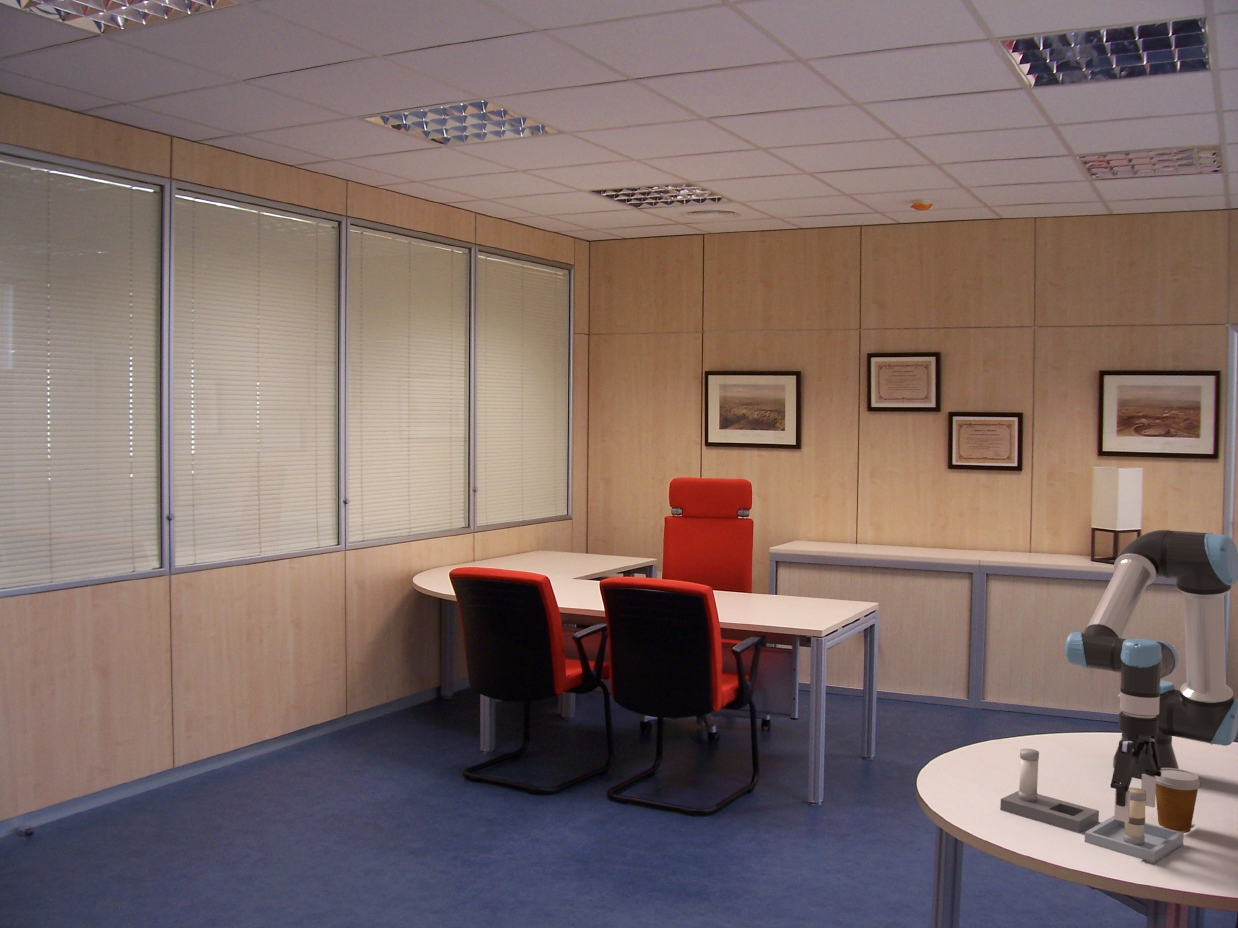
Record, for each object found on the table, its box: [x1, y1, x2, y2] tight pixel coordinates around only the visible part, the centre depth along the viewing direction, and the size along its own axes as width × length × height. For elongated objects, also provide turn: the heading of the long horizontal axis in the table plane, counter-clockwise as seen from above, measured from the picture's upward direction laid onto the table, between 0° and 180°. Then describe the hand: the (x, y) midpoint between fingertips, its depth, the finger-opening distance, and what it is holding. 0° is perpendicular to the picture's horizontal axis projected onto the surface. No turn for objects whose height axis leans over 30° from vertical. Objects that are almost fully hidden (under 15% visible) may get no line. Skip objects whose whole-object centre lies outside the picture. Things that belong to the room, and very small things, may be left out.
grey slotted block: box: [999, 748, 1100, 834], centre depth 243 cm, size 10×18×14 cm, turn 43°
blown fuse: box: [1124, 786, 1146, 846], centre depth 228 cm, size 4×4×11 cm
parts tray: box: [1084, 815, 1184, 866], centre depth 228 cm, size 16×14×2 cm
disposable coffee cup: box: [1155, 768, 1201, 833], centre depth 238 cm, size 10×10×12 cm
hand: (1135, 812), depth 228 cm, fingers open, 13 cm apart
